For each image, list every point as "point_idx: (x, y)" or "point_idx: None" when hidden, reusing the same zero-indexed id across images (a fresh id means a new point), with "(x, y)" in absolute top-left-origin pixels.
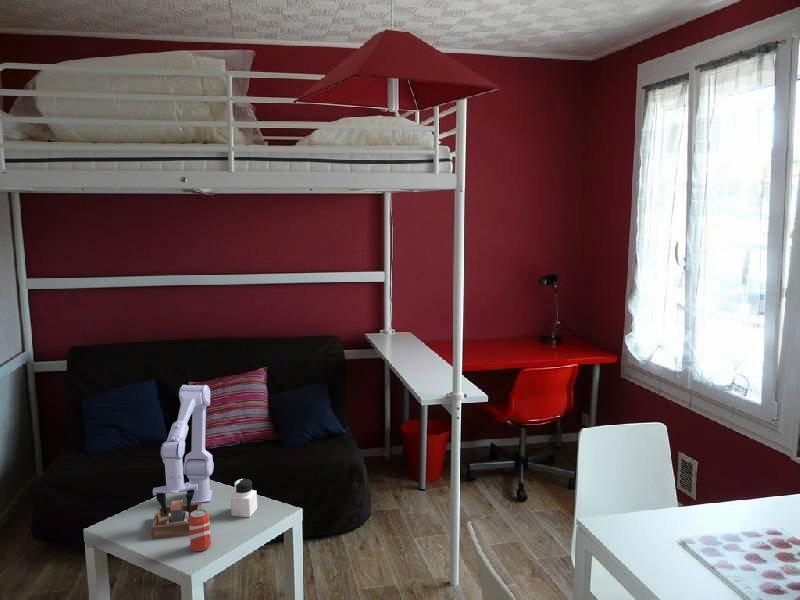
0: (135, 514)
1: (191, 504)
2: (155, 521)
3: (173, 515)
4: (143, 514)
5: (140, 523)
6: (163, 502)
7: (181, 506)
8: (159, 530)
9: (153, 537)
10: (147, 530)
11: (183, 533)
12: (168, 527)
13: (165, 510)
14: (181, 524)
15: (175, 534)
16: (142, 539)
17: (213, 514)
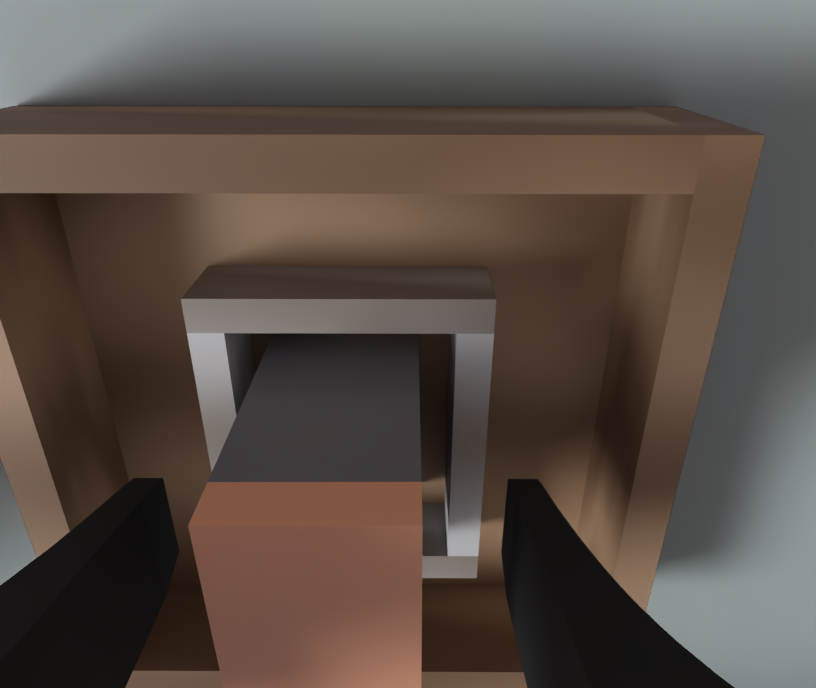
0: (800, 670)
1: (204, 680)
2: (669, 351)
3: (377, 415)
4: (727, 658)
5: (776, 515)
6: (600, 667)
7: (204, 550)
8: (592, 126)
9: (659, 109)
10: (716, 353)
11: (219, 108)
12: (439, 127)
13: (525, 522)
14: (193, 133)
15: (338, 109)
16: (805, 122)
17: (4, 537)
